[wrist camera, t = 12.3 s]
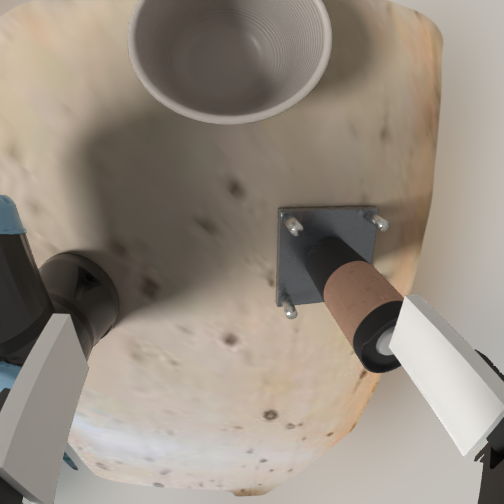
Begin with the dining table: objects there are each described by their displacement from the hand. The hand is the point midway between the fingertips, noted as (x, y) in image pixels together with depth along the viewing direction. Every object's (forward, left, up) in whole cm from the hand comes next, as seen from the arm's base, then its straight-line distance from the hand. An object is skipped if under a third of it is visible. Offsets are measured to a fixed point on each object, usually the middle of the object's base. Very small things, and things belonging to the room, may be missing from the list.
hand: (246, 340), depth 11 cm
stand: (+16, -12, -31) cm, 37 cm away
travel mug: (+15, -12, -30) cm, 36 cm away
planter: (+1, +16, -31) cm, 35 cm away
